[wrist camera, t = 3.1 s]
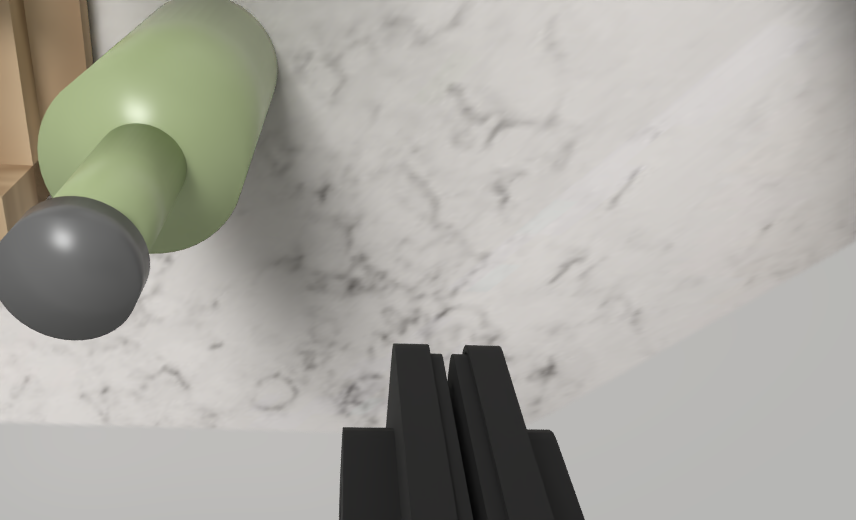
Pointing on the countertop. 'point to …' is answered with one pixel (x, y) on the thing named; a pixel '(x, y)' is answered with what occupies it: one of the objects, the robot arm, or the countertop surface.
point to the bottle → (138, 164)
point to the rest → (34, 89)
